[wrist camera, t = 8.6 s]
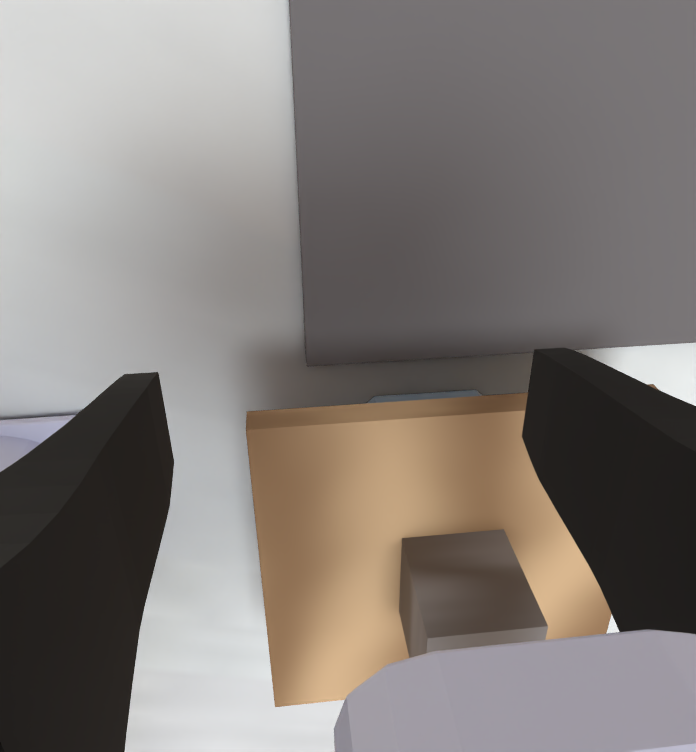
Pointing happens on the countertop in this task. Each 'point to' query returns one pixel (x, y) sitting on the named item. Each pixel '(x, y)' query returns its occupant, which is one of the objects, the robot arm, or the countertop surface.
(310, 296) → the mat
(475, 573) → the cover
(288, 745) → the countertop surface
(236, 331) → the countertop surface
